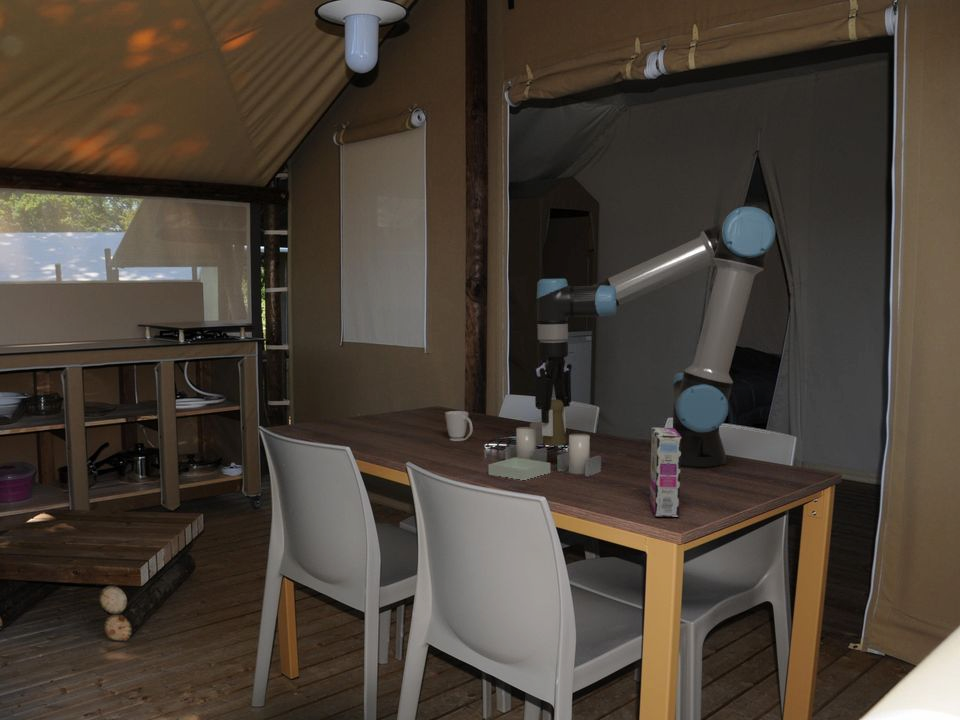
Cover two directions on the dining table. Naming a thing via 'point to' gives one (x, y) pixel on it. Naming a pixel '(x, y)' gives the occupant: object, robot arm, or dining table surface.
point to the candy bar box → (665, 472)
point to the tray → (519, 468)
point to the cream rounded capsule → (525, 442)
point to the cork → (556, 425)
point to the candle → (538, 432)
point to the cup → (458, 425)
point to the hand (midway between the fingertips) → (554, 433)
